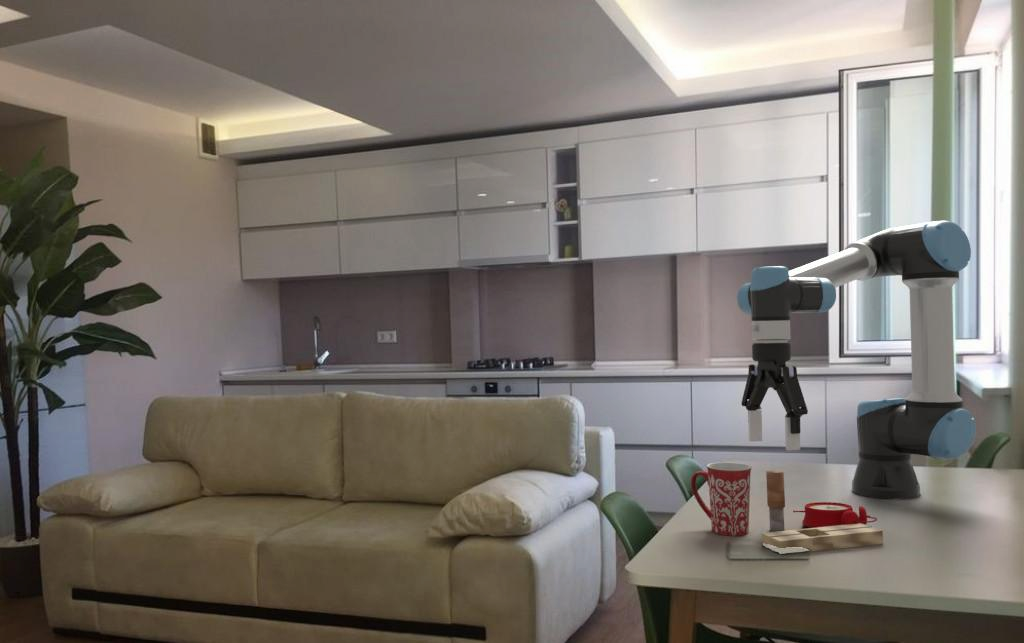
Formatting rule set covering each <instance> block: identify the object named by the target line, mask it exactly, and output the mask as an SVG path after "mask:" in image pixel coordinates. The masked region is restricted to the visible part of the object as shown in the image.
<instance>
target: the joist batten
mask: <svg viewBox="0 0 1024 643" xmlns="http://www.w3.org/2000/svg"><path fill="white" fill-rule="evenodd" d="M883 536H884V533H883V530H882V529H879V528H876V527H874V526H872V525H867V524H866V525H865V524H862V523H860V522H859V523H858V524H848V525H838V526H828V527H818V528H811V527H808V528H801V529H799V528H798V529H789V530H784V531H777V532H772V531H769V532H761V544H762V543H765V544H770V545H773V546H776V547H778V548H786V547H803V548H806V549H808V550H809V551H810V552H820V551H829V550H838V549H849V548H855V547H856V548H857V547H865V546H874V545H876V546H877V545H883V544H884V537H883ZM810 552H809V553H810Z"/></svg>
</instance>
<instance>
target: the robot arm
mask: <svg viewBox="0 0 1024 643" xmlns="http://www.w3.org/2000/svg"><path fill="white" fill-rule="evenodd" d="M971 248H972V247H971V243H970V240H969V238H968V235H967V233H966V232H965V231H964V230H963V229H962V228H961V227H960V226H959V224H957V223H955V222H954V221H949V220H936V221H935V220H932V221H927V222H926V221H925V222H921V223H916V224H914V223H913V224H909V225H902V226H896V227H891V228H890V227H889V228H887V229H884V230H882V231H879V232H876V233H874V234H872V235H869V236H866V237H864V238H861V239H859V240H857V241H855V242H852V243H850V244H848V245H847V246H846V247H845V248H844V249H843V250H842V251H840V252H837V253H835V254H832V255H828V256H826V257H822V258H820V259H818V260H815V261H812V262H810V263H806V264H805V265H802V266H799V267H796V268H793V269H791V270H789V268H788V267H787V266H782V265H777V266H776V265H774V266H772V265H771V266H770V265H769V266H760V267H755V268H753V269H752V271H751V273H750V282H747V283H744V284H743V285H742V286H741V287H740V288H739V289H738V291H737V295H736V300H737V304H738V308H739V309H740V310H741V311H742V312H743V313H744V314H746V315H751V328H750V329H751V340H753V341H754V342H755V343H753V344H751V351H752V352H751V354H752V355H751V356H752V357H751V358H752V360H753V361H754V362H757V364H756V363H755V364H753V363H751V364H749V365H748V373H747V374H748V376H747V379H746V383H745V387H744V391H743V395H742V399H741V406H742V407H745V409H746V410H747V415H748V416H747V420H748V421H747V422H748V441H749V442H750V443H751V442H763V420H762V416H763V415H762V412H763V410H762V407H761V405H762V403H763V401H764V399H765V396H766V395H767V392H768V390H769V388H770V389H771V388H772V389H773V391H775V392H776V394H777V395H778V398H779V400H780V401H781V404H782V406H783V408H784V410H785V412H786V414H785V416H784V424H785V425H784V426H785V428H784V429H785V430H784V431H785V434H784V435H785V451H789V452H790V451H801V418H802V417H803V416H805V415H808V413H809V412H808V407H807V404H806V402H805V397H804V394H803V392H802V388H801V385H800V381H799V378H798V370H797V367H796V366H794V365H793V366H790V365H789V366H787V364H786V362H789V361H791V358H792V356H791V355H792V354H791V353H792V352H791V351H792V350H791V348H792V347H791V344H790V343H789V342H788V341H789V340H791V339H792V338H791V335H792V334H791V314H805V313H806V314H809V313H810V314H811V313H812V314H818V313H825V312H828V311H830V310H831V309H832V308H833V307H834V305H835V302H836V301H837V289H836V288H838V287H841V286H844V285H846V284H848V283H851V282H853V281H856V280H857V281H860V282H862V281H863V282H864V281H865V282H866V281H867V280H870V279H873V278H879V277H881V278H882V277H891V276H901V282H902V283H903V284H904V285H905V286H907V288H908V290H909V313H910V315H909V317H910V321H909V324H910V348H911V349H910V350H911V353H910V354H911V387H912V388H911V391H910V392H911V393H909V394H908V395H907V396H906V397H898V398H894V397H893V398H883V399H873V400H872V399H871V400H862V401H861V402H859V403H858V404H857V409H856V410H857V411H856V412H857V413H856V414H857V415H856V426H857V445H858V447H857V448H858V461H857V465H856V468H855V472H854V476H853V479H852V481H851V491H852V492H853V493H855V494H857V495H861V496H865V497H870V498H879V499H890V500H891V499H893V500H894V499H895V500H897V499H900V500H901V499H912V498H917V497H919V496H921V486H920V485H921V484H920V483H919V480H918V477H917V475H916V472H915V469H914V466H913V463H912V455H916V456H923V457H928V458H932V459H935V460H939V459H941V460H957V459H959V458H961V457H963V456H964V455H965V454H966V453H968V451H969V449H970V448H972V445H973V443H974V441H975V439H976V438H975V437H976V432H977V425H976V424H977V423H976V420H975V418H974V417H973V414H972V413H971V411H969V410H967V409H966V408H964V405H963V404H964V402H963V398H961V396H959V395H958V394H957V393H956V391H955V390H956V389H955V361H954V360H955V357H954V356H955V355H954V352H955V351H954V327H953V326H954V325H953V324H954V323H953V291H952V290H953V289H952V288H953V286H954V285H955V284H956V283H957V282H958V281H959V280H960V271H962V270H963V269H965V268H966V267H967V266H969V261H970V260H971V254H972V249H971Z"/></svg>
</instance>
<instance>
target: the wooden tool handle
mask: <svg viewBox="0 0 1024 643" xmlns="http://www.w3.org/2000/svg"><path fill="white" fill-rule="evenodd" d="M765 472H766V473H765V475H766V479H765V480H766V494H767V495H766V497H767V498H766V501H767V502H766V503H767V504H766V505H767V507H768V513H769V516H768V517H769V532H777V531H785V516H784V515H785V510H784V508H785V507H786V498H785V497H786V496H785V476H784V475H785V472H784V471H783V470H776V469H775V470H774V469H773V470H771V469H770V470H767V471H765Z"/></svg>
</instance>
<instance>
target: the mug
mask: <svg viewBox="0 0 1024 643" xmlns="http://www.w3.org/2000/svg"><path fill="white" fill-rule="evenodd" d="M706 468H707V469H706V470H707V471H705V470H704V471H703V470H698V471H696V472H695V473H693V474H692V476H691V479H690V485H691V486H690V487H691V492H692V495H693V496H694V498H695V500H696V501H697V503H698V506H699V507H700V508H701V509H702V511H703V512H704V513H705V515H706V516H707V517H708V518H709V520H710V522H711V523H710V524H711V531H712V532H713V533H715V534H718V535H722V536H728V537H729V536H731V537H734V536H738V537H739V536H744V535H746V534H748V533H749V530H750V529H749V525H750V499H751V497H750V493H751V471H752V466H751V465H749V464H747V463H741V462H727V461H724V462H723V461H720V462H712V463H708V464H707V465H706ZM698 476H702V477H703V478H704V479H705V480H706V483H707V486H708V491H709V506H710V508H709V507H708V506H707V505H706V503H705V502H704V500H703V499H702V497H701V495H700V494H699V491H698V489H697V482H696V481H697V478H698Z"/></svg>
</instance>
